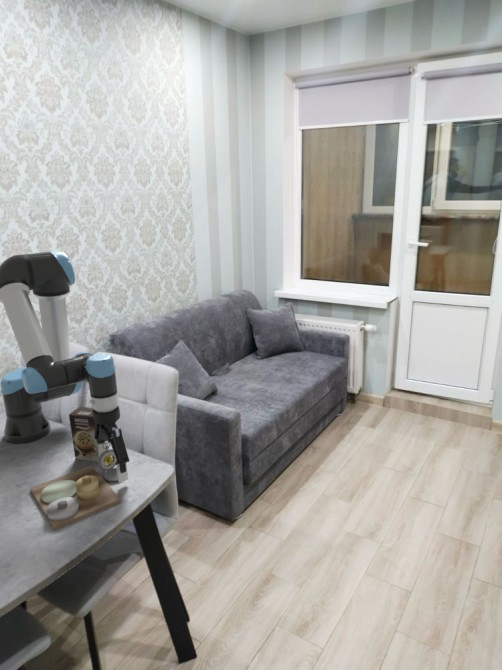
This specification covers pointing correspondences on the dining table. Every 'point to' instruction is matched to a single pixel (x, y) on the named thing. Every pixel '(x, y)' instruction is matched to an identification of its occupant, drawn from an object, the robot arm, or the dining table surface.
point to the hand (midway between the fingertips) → (113, 471)
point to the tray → (74, 497)
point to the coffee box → (84, 434)
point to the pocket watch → (111, 471)
